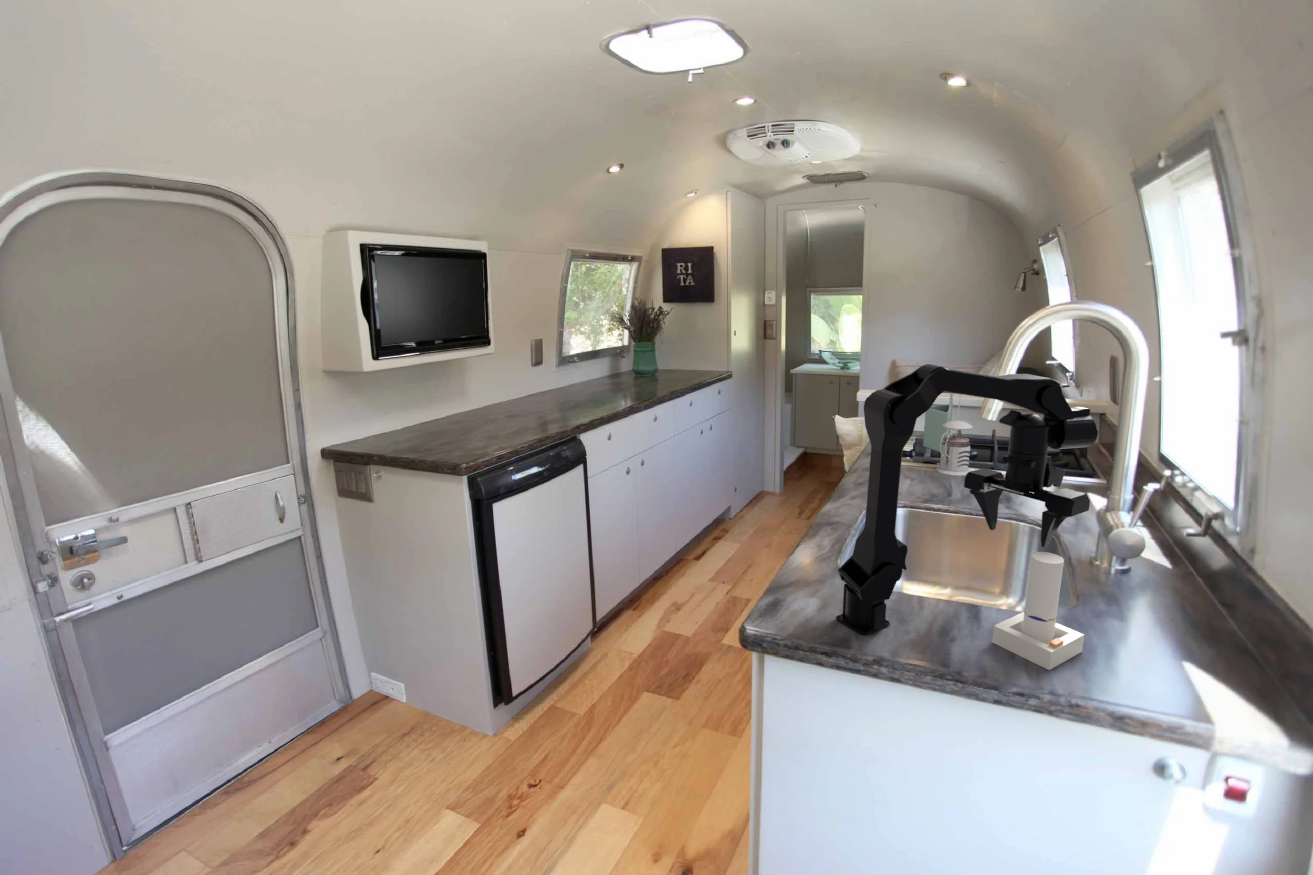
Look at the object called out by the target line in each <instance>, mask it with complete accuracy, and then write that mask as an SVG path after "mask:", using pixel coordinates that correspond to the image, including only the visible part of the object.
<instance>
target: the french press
mask: <svg viewBox="0 0 1313 875" xmlns="http://www.w3.org/2000/svg"><path fill="white" fill-rule="evenodd" d="M961 395H962V394H959V400H958V408H961ZM959 416H960V409H958V410H957V419H956V420H951V421H949V422H947V423H945V424H943V427H944V428H946V429H950V430H953V431H968V430H970V431H971V429H973V425H972V424H970V423H969V422H967V421H963V420H959V418H960V417H959ZM945 434H946V436H947V432H945V433H944V435H945ZM944 435H943V436H944ZM943 436H942V439H943V440H944V441H946V442H942V446H941V442H940V452H939V453H940V459H939V460H940V461H939V466H937V467H936V468H935V470H936V471H937V472H938V473H941V474H944V475H950V476H966V474H967V473H968V472H971V471H972V470H971V469H970V468H969V465H970V462H968V461H970V458H969V457H970V452H971V444H970V439H969V438H967V437H963V436H958V432H956V434H955V436H953V433H951V432H950V435H949V436H947V437H944V438H943ZM942 439H941V441H942ZM941 448H942V449H941ZM947 448H948V450H947ZM941 450H942V451H941Z"/></svg>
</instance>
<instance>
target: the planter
mask: <svg viewBox="0 0 1313 875" xmlns="http://www.w3.org/2000/svg"><path fill="white" fill-rule="evenodd" d="M949 396H950V398H949V404H941V405H934V406H931V407H930V409H929V410H927V411H926V412H925V413H924V427H923V441H922V446H923V447H924V448H927V449H930V450H933V451H935V452H938V453H941V452H940V442H941V446H942V442H946V441H944V440H943V439H942V436H943V435H944V433H945V432H947V436H949V435H950V434H951V430H950V429H946V428H944V427H943V424H945V423H947V422H949V421H952V420H953V419H952V417H953V404H954V403H953V402H954V401H953V400H954V397H953V396H954V393H950V395H949ZM947 436H946V434H945V435H944V436H943V438H944V437H947ZM950 436H951V435H950ZM941 439H942V441H941ZM941 449H942V448H941ZM947 450H949V448H947ZM941 451H942V450H941Z"/></svg>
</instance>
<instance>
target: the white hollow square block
mask: <svg viewBox="0 0 1313 875" xmlns="http://www.w3.org/2000/svg"><path fill="white" fill-rule="evenodd" d="M1023 619H1024V611H1023V612H1020V613H1018V614H1017V615H1014V616H1011V617H1010V618H1007V619H1005V620H1002V621H1001V622H999V623H997V624H994V625H993V632H992V642H991V643H992V644H995V645H996V646H999V647H1000V648H1002V649H1004V650H1006V651H1009V652H1011V653H1013V654H1015V655H1017V656H1019V657H1021V658H1023V659H1024V660H1028V661H1029V662H1032V663H1033V664H1036V665H1038V666H1040V667H1042V668H1044V669H1046V670H1047V671H1051V670H1052V669H1054V668H1056V667H1057V666H1060V665H1062V664H1063V663H1065V662H1066V661H1068V660H1070V659H1072V658H1074V657H1075V656H1077V655H1080V653H1083V649H1084V648H1083V647H1084V641H1085V634H1084V633H1082V632H1079V631H1077V630H1075V629H1072V628H1070V627H1067V626H1065V625H1063V624H1060V623H1058V622H1056V623H1055V630H1054V637H1053V640H1052V641H1050V642H1049V644H1045V643H1043V642H1040V641H1038V640H1036V639H1034V638H1032V637H1029V636H1027V635H1025V634H1023V633H1022V627H1023Z"/></svg>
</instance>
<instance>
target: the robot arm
mask: <svg viewBox="0 0 1313 875" xmlns="http://www.w3.org/2000/svg"><path fill="white" fill-rule="evenodd" d="M1060 383H1061V382H1059V381H1058V380H1056V379H1053V378H1051V377H1045V376H1039V375H1035V374H1029V373H1009V374H1004V375H993V374H986V373H978V372H972V371H967V370H966V371H965V370H960V369H953V368H947V367H945V366H941V365H936V364H932V363H926V364H923V365H921V366H919V367H918V368H916V369H915V370H914V371H913V372H911V373H910V374H907V375H905V376H902V377H901V378H898V379H896V380H894V381H892V382H890V383H889V384H888V385H886V386H885V387H883V388H881V389H876V390H875V391H873V392H871V394H870V395H869V396H867V397H866V398H865V400H864V404H863V418H864V424H865V425H864V427H865V430H866V434H867V437H868V439H869V442H870V446H871V447H870V460H869V469H868V470H869V473H868V484H867V497H866V509H865V522H864V528H863V530H862V531H861V532H860V534H859V535H858V537H857V538H856V539H855V544H854V548H853V551H852V554H851V556H850V557H849V558H848V559H847V560H846V561H845V562H844V563H843V564H842V565H841V566H840V567H839V568H838V569H837V573H838V575H839V578H840V580H841V581H842V582H844V584H843V596H842V597H843V598H842V613H841V614H838V615H836V616H835V620H836V621H838V622H840V623H842V625H843V624H844V625H845V626H847V627H849V628H850V629H852V630H853V631H855V632H857V633H858V634H860V635H862V636H864V635H865V636H866V635H869V634H871V633H873V632H877V631H879V630H881V629H883V628H885V627H888V626H890V624H891V623H890V622H891V621H890V620H887V619H886V616H887V615H886V614H887V604H886V603H885V602H886V601H887V600H890V598H891V595H892V593H893V592H894V589H895V586H896V584H897V582H900V580H901V579H902V575H903V572H904V571H907V566H906V559H907V554H908V546H907V545H906V544H905V543H903V542H902V541H901V540H900V539H898V538H897V535H896V526H897V525H896V524H897V516H898V504H899V493H900V492H899V491H900V482H901V472H902V471H901V470H902V462H903V461H902V460H903V452H904V448H905V447H906V445H907V444H908V442H909V440H910V439H911V437H912V436H913V435H914V430H915V427H916V422H917V419H919V417H921V416H922V415H923V414H925V412H926V411H927V410H929V409H930V407H933V406H932V405H933V404H934V403H935V401H936V400H937V398H938V397H939V396H940V395H941V394H942V393H944V392H945V393H950V394H951V393H953V394H957V395H960V394H961V395H965V396H971V397H978V398H985V399H990V400H991V399H992V400H997V401H999V402H1002V403H1004V404H1007V405H1010V406H1012V407H1015V408H1019V409H1023V410H1027V411H1028V412H1032V413H1024V414H1022V413H1021V412H1020V411H1016V410H1014V409H1011V410H1009V412H1008V413H1007V414H1005V415H1003V416H1002V417H1001V418H999V420H998V423H999V424H1002V425H1005V426H1008V427H1010V430H1009V431H1010V432H1009V439H1008V440H1009V441H1008V450H1007V454H1006V455H1003V456H1002V462H1003V463H1006V469H1005V476H1004V474H1003V473H1002V472H1001V471H998V470H997V471H996V470H993V469H990V468H985V467H982V468H978V469H975V470H971V472H968V473H967V474H966V475H964V477H963V484H962V485H963V488H965V489H969V494H971V495H973V496H974V498H975V500H976V502H977V504H978V505H979V509H981V512H982V514H983V517H984V519H985V521H986V524H987V526H988V529H989V530H990V531H994V530H996V528H997V524H998V516H999V515H998V513H999V501H1000V497H1001V496H1002V494H1003V491H1004V492H1007V493H1011V494H1015V495H1018V496H1022V497H1025V498H1029V499H1033V500H1036V501H1040V502H1043V503H1044V506H1045V509H1047V510H1044V511H1042V513H1041V514H1042V515H1041V530H1040V542H1041V548H1046V547H1047V548H1048V546H1049V544H1050V543H1051V541H1052V540H1053V538H1054V536H1055V534H1056V533H1057V531H1058V530H1059V527H1060V526H1061V525H1062V524H1063V522H1064V521H1065V520H1066V519H1067V518H1072V517H1074V516H1077V515H1080V514H1083V513H1085V512H1088V511H1090V505H1091V504H1090V503H1091V501H1090V500H1091V499H1090V498H1089V496H1088V495H1087V493H1085V492H1081V491H1077V490H1072V489H1069V488H1066V487H1065V488H1061V485H1062V482H1063V479H1064V477H1065V473H1066V469H1063V468H1060V467H1058V466H1055V465H1052V464H1053V463H1052V461H1053V459H1052V456H1049V455H1048V452H1049V451H1048V450H1049V448H1051V449H1053V450H1062V449H1064V450H1065V449H1077V448H1088V447H1091V446H1092V445H1094V443H1095V442H1096V440H1097V438H1098V434H1099V430H1098V429H1097V424H1096V422H1095V420H1094V418H1093V417H1092V416H1091V409H1090V408H1087V407H1082V406H1073V407H1071V406H1070V405H1069V403H1068V401H1067V399H1066V398H1065V396H1064V395H1063V391H1062V386H1061V384H1060ZM1035 413H1036V414H1035ZM1038 414H1039V415H1043V417H1040V416H1039V415H1038ZM1052 486H1053V487H1056V488H1061V489H1057V490H1055V491H1050V490H1047V489H1044V488H1051V487H1052Z"/></svg>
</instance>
